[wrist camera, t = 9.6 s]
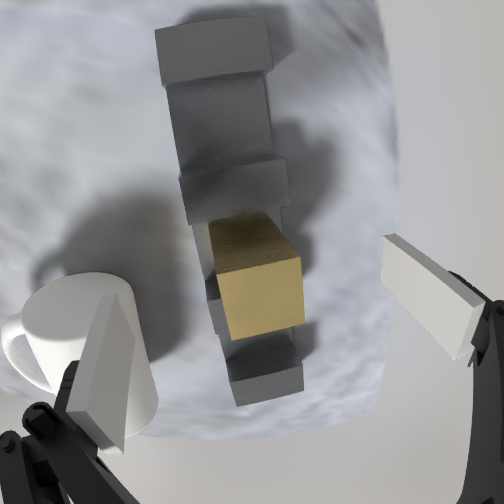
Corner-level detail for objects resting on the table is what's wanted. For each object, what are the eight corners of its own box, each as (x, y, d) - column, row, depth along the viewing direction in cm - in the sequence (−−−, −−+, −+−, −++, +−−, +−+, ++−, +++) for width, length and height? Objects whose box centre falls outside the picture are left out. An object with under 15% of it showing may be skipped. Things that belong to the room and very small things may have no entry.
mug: (140, 268, 21) (122, 339, 14) (160, 369, 25) (158, 443, 18) (7, 274, 19) (-41, 332, 12) (44, 366, 23) (20, 430, 16)
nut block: (207, 225, 20) (216, 274, 14) (266, 213, 21) (300, 256, 15) (218, 277, 22) (231, 340, 16) (273, 266, 23) (304, 323, 16)
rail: (159, 42, 15) (154, 30, 13) (254, 29, 16) (264, 15, 13) (232, 382, 27) (237, 406, 24) (294, 368, 28) (304, 390, 25)
